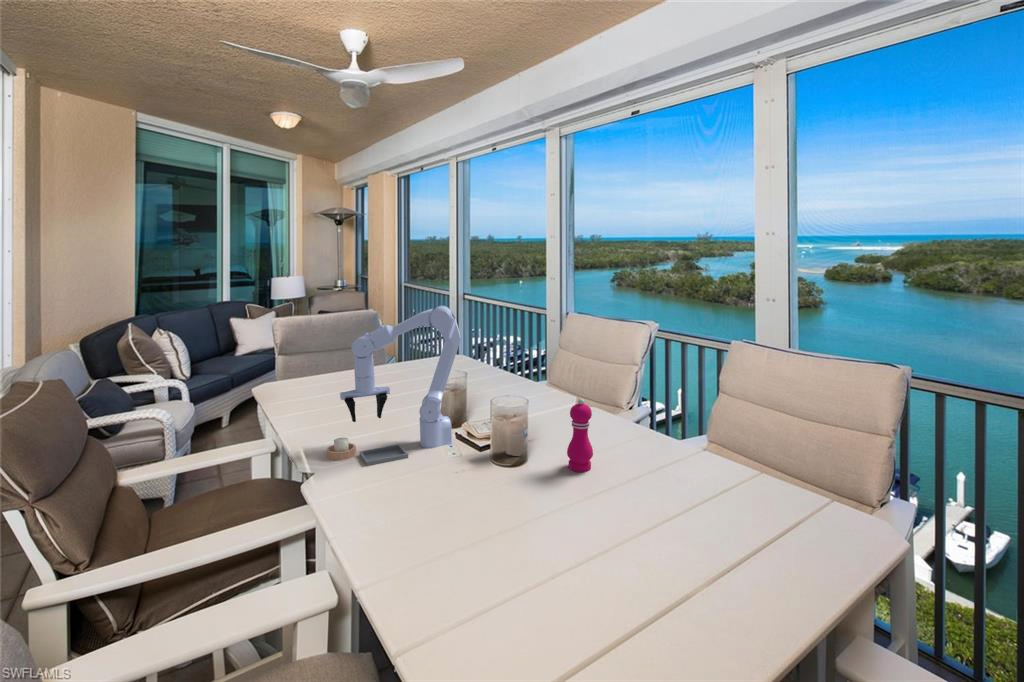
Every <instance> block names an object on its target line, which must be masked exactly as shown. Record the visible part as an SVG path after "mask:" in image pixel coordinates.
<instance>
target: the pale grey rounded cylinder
mask: <svg viewBox="0 0 1024 682" xmlns="http://www.w3.org/2000/svg"><path fill="white" fill-rule="evenodd" d="M349 443H350V442H349V437H339V438H335V439H334V440H333V445H334V450H335V452H344V451H348V450H349Z"/></svg>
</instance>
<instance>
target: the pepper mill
mask: <svg viewBox="0 0 1024 682" xmlns="http://www.w3.org/2000/svg"><path fill="white" fill-rule="evenodd" d="M592 412H593V411H592V409H591V407H590V406H589V405H588V404H585V399H583V398H579V399H577V403H575V404H574V405H572V407H570V410H569V415H570V416H569V417H570V418H571V427H572V437H571V439H570V442H569V444H568V446H567V448H566V454H567V455H566V456H567V457H568V458H569V460H568V468H569V469H570V470H571V471H573V472H576V473H585V472H588V471H590V470H591V469H592V462H591V459H592V458H593V456H594V450H593V445H592V444H591V443H592V442H591V441H590V438H589V434H588V432H589V428H590V423H591V422H590V420H591V419H592V416H593V413H592Z"/></svg>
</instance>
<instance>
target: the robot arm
mask: <svg viewBox="0 0 1024 682" xmlns="http://www.w3.org/2000/svg"><path fill="white" fill-rule="evenodd" d="M431 326H432V327H434V328H435V330H437V331H438V332H440V334H441V337H442V339H444V343H443V347H442V349H441V352H440V355H439V358H438V361H437V364H436V368H435V371H434V373H433V377H432V380H431V384H430V387H429V389H428V393H427V394H426V396H424V398H423V399H422V401H421V406H420V408H419V437H420V440H419V441H420V443H419V445H420V447H423V448H424V449H425V448H426V449H433V448H435V449H436V448H439V447H442V446H446V445H447V446H449V447H453V437H452V436H453V435H452V434H453V433H452V431H453V430H452V421H451V419H450V417H449V416H447V415H446V416H445V415H443V414H442V412H441V409H442V406H443V405H442V403H443V402H442V399H443V396H444V392H445V390H446V386H447V383H448V380H449V377H450V374H451V371H452V367H453V365H454V362H455V359H456V356H457V353H458V349H459V346H460V342H461V338H462V337H461V332H460V329H459V325H458V322H457V319H456V315H455V314H454V313H453V311H452V310H451V309H450V308H449V307H448V306H446V305H439V306H436V307H435V308H430V309H426V310H424V311H421V312H419V313H417V314H415V315H413V316H411V317H410V318H407V319H405V320H403V321H402V322H400V323H397V324H396V325H394V326H392V325H388V324H385V325H384V324H381V325H379V326H378V328H377V329H375V330H373V331H371V332H365V333H364V334H363V336H359V337H358V338H356V339H355V340H354V341H353V343H351V347H350V348H351V352H352V354H353V359H354V360H353V367H354V368H353V370H354V386H355V387H354V388H355V389H351V390H346V391H342V392H339V397H340V400H341V401H344V403H345V404H346V406H347V408H348V410H349V411H348V412H349V413H350V417H351V421H352V422H353V423H357V417H356V401H355V399H357V398H363V397H364V398H366V397H370V396H371V397H372V396H375V399H376V417H377V418H378V419H382V413H383V410H384V406H385V404H386V402H387V400H388V395H390V394H391V390H390V389H391V388H390V387H389V386H381V387H380V386H377V387H376V382H375V381H376V380H375V363H374V362H375V361H374V353H373V351H376V352H377V351H379V350H381V349H383V348H385V347H387V346H389V345H392V344H394V343H396V342H397V338H398V336H400V335H403V334H405V333H407V332H410V331H412V330H414V329H416V328H419V327H426V328H427V327H431Z"/></svg>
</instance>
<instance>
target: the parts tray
mask: <svg viewBox="0 0 1024 682" xmlns="http://www.w3.org/2000/svg"><path fill="white" fill-rule="evenodd" d="M358 455H359V457H360V458H361V460H362V461H363V463H364V465H365V466H366V467H370V466H371V467H372V466H376V465H380V464H385V463H390V462H396V461H401V460H405V459H406V460H407V459H409V453H408V452H407V451H406V450H405V449H404V447H402V446H401V444H399V443H397V444H393V445H387V446H382V447H376V448H370V449H365V450H360V451H359V454H358Z"/></svg>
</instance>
